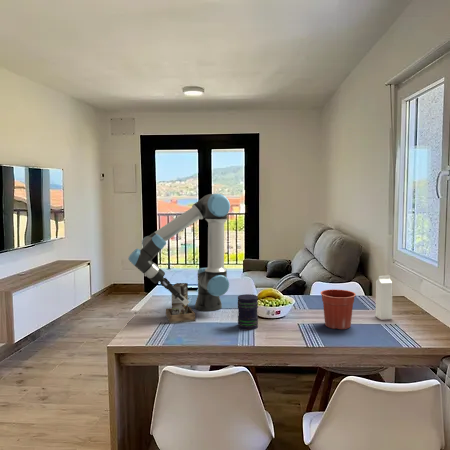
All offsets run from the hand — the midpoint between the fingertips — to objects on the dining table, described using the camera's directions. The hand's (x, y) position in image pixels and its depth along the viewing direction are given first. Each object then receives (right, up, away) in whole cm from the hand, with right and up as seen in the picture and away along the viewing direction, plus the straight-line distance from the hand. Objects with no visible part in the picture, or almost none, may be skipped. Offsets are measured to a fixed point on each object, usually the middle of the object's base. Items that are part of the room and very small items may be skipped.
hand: (185, 301), depth 219 cm
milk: (+102, -8, -3) cm, 103 cm away
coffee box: (-3, -7, 0) cm, 8 cm away
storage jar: (+32, -10, -15) cm, 37 cm away
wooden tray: (-3, -9, 0) cm, 10 cm away
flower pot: (+75, -9, -15) cm, 78 cm away
